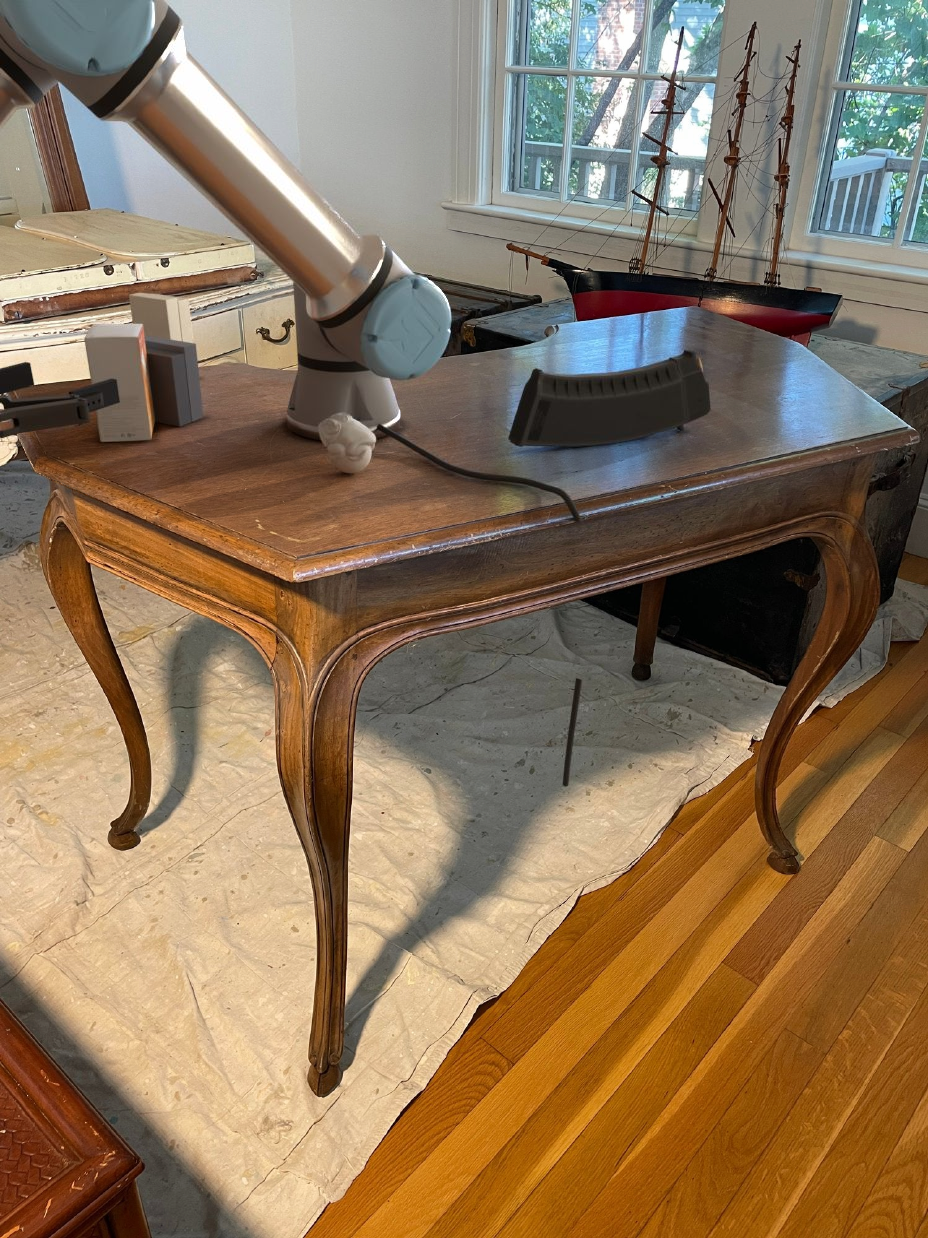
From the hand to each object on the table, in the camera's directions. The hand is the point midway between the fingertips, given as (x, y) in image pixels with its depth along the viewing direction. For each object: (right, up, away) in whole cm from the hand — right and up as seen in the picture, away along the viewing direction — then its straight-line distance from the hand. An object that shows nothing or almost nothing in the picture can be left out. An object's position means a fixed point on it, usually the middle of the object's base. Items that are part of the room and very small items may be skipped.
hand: (72, 381), depth 109 cm
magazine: (+67, -4, +15) cm, 68 cm away
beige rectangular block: (+1, +9, +33) cm, 34 cm away
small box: (+3, -4, +10) cm, 12 cm away
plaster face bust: (+33, -11, +1) cm, 35 cm away
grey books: (+6, -1, +16) cm, 17 cm away
